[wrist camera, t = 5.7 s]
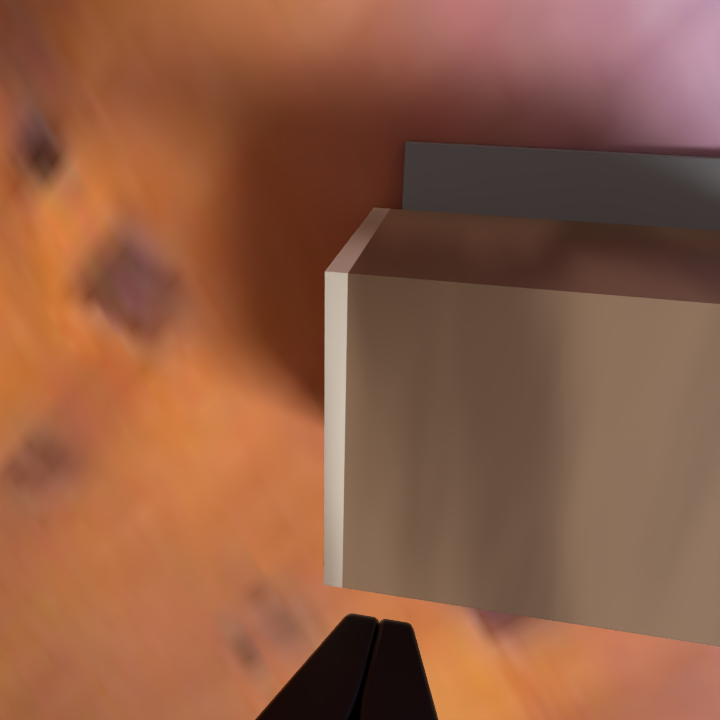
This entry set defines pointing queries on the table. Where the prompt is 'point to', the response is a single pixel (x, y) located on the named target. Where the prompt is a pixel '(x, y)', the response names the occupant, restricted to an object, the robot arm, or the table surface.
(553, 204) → the mat
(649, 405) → the walnut block
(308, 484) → the table surface
